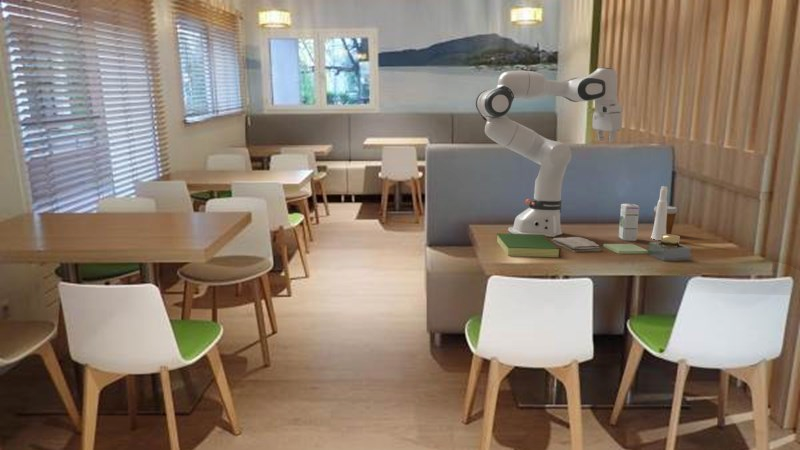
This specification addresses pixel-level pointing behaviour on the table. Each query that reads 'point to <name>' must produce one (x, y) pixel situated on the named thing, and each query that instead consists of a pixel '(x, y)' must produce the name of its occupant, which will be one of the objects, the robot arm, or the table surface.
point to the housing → (669, 252)
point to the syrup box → (628, 222)
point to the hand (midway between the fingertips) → (606, 141)
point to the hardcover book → (528, 245)
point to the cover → (670, 240)
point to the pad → (626, 248)
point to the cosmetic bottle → (660, 215)
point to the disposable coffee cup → (669, 218)
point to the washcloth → (577, 244)
